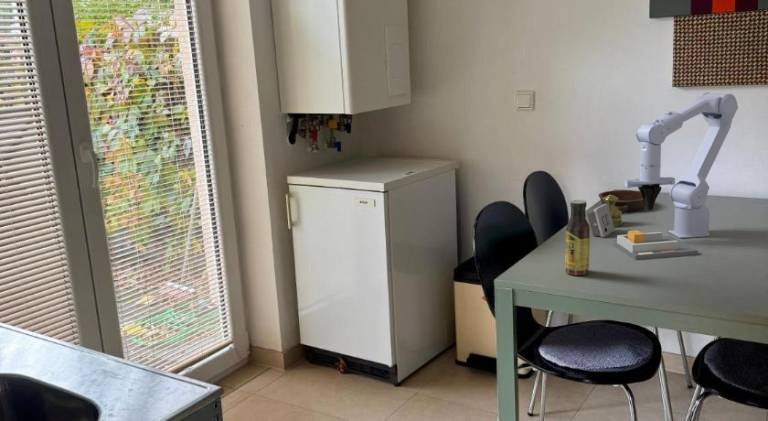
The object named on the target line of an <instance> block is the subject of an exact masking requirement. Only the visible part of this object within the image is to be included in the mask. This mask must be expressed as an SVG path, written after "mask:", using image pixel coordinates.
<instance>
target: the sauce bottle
mask: <svg viewBox="0 0 768 421" xmlns="http://www.w3.org/2000/svg"><path fill="white" fill-rule="evenodd" d="M569 205H570V206H569V207H570V218H569V220H568V222H567V225H566V228H565V240H564V241H565V243H564V245H565V247H564V248H565V249H564V250H565V251H564V254H565V255H564V257H565V258H564V259H565V260H564V267H565V273H567V274H569V275H571V276H585V275H587V274H588V273H589V268H590V248H591V247H590V245H591V244H590V242H591V240H590V238H591V236H590V230H591V227H590V223H589V221H588V220H587V219H586V217H587V214H586V213H587V212H586V210H587V209H586V208H587V201H586V200H585V199H573V200H571V201H570V204H569Z"/></svg>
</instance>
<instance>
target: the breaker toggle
mask: <svg viewBox="0 0 768 421" xmlns="http://www.w3.org/2000/svg"><path fill="white" fill-rule="evenodd" d="M644 233H645V232H642V231H640V230H638V229H637V230H628V231H627V234H628V240H630V241H631V242H633V243H635V244H638V243H644V236H645V234H644Z"/></svg>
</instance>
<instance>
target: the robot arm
mask: <svg viewBox="0 0 768 421" xmlns="http://www.w3.org/2000/svg"><path fill="white" fill-rule="evenodd" d="M738 109H739V105H738V101H737V98H736V96H735V95H734V94H732V93H713V92H712V93H711V92H703V93H702V94H701V95H697V97H696V98H695V100H694V101H692V102H690V103H689V104H687V105H686V106H684V107H682V108H680V110H678V111H670V110H667V111H666V112H664V114H663V115H662V116H660V117H659V118H653V120H652V121H651V122H650V123H643V124H641V125H640V126H639V127H638V130H637V133H636V132H635V138H636V140H637V142H638V147H639V150H640V151H639V178H635V179H628V180H626V179H625V180H624V188H626V189H631V188H637V189H638V191H640V193H641V195H642V197H643V200H644V204H645V207H644V209H645V210H646V211H653V209H654V205H655V204H656V203H655V202H656V200H657V198H658V196H659V194H660V193H661V191H662V186H667V185H671V188H670V190H669V199H670V201H672V202H673V206H674V221H673V222H674V224H673V229H669V230H668V233H670V234H672V235H673V236H675V237H677V238H679V239H687V238H688V239H689V238H699V237H700V238H701V237H710V236H711V234H710V233H709V232H710V210H709V209H708V207H707V206H706V205H705V203H706V201H707V198H708V192H709V190H710V185H709V184H708V183H707V181H706V180H707V179H706V178H707V177H708V175H709V174H710V170H711V169H712V167H713V164H714V163H715V161H716V158H717V156H718V154H719V152H720V150H721V149H722V146H723V144H724V142H725V141H726V138H727V136H728V133H729V132H730V130H731V127H732V123H733V119H734V117H735V114H736V113H737V110H738ZM700 114H701V115H702V117H703V118H704V120H705V121H706V123H707V124H708V126H709V127H708V130H707V131H706V133H705V136H704V137H703V140H702V141H701V143H700V145H699V147H698V150H697V152H696V154H695V156H694V159H693V161H692V163H691V165H690V166H689V169H688V171H687V172H686V173H685V174H683V175H681V176H679V177H678V179H677V181H676V178H675V177H673V176H668V177H667V176H666V177H664V176H663V177H661V161H662V160H661V157H662V156H661V155H662V144H663V143H664V142H665V140H666V138H667V137H668V136H669V135H672V134H674V132H676V131H678V130H680V129H681V128H682V127H683V124H684V122H687V121H689V120H690V119H691V120H692V118H694V117H697V116H698V115H700Z"/></svg>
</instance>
